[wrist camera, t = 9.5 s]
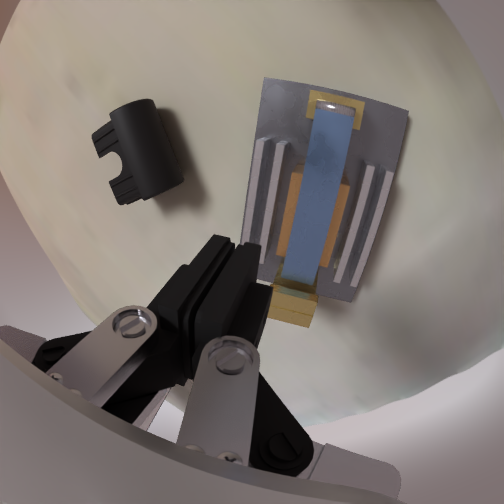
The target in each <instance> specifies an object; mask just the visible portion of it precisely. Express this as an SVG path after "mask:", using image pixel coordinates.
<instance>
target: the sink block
mask: <svg viewBox="0 0 504 504" xmlns="http://www.w3.org/2000/svg"><path fill="white" fill-rule="evenodd" d="M317 99H320V100H325V101H330V102H334V103H338V104H342V105H346V106H350V107H354V108H356V112H355V117H354V122H353V127H352V132H351V137H350V142H349V147H348V151H347V156H346V161H345V165H344V169H343V174H342V178H341V182H340V187H339V191H338V195H337V199H336V203H335V207H334V211H333V215H332V219H331V223H330V226H329V230H328V234H327V237H326V241H325V245H324V248H323V252H322V255H321V259H320V262H319V266H318V269H317V273H316V276H315V279H314V283H313V285H309V284H305V283H301V282H297V281H293V280H289V279H285V278H281V274H282V270H283V265H284V261H285V257H286V252H287V248H288V243H289V239H290V234H291V230H292V225H293V220H294V216H295V211H296V206H297V201H298V197H299V192H300V187H301V182H302V177H303V172H304V167H305V162H306V157H307V152H308V146H309V141H310V136H311V131H312V125H313V120H314V114H315V109H316V103H317ZM408 113H409V111H407V110H404V109H401V108H398V107H395V106H392V105H389V104H386V103H383V102H379V101H376V100H373V99H369V98H365V97H362V96H358V95H354V94H350V93H346V92H342V91H338V90H333V89H329V88H324V87H319V86H314V85H309V84H304V83H298V82H292V81H286V80H279V79H272V78H264V81H263V88H262V94H261V101H260V107H259V114H258V121H257V127H256V134H255V141H254V148H253V154H252V161H251V168H250V175H249V182H248V189H247V196H246V204H245V211H244V218H243V225H242V233H241V240H240V245H244V243H245V242H250V243H255V244H259V245H261V246H262V248H261V255H260V261H259V268H258V274H257V279H259V280H263V281H267V282H271V283H273V284H271V285H270V286H272V287H273V294H272V298H271V303H270V308H269V312H268V316H267V317H268V318H272V319H275V320H279V321H283V322H287V323H291V324H295V325H299V326H303V327H307V328H309V326H310V323H311V320H312V318H313V314H314V311H315V309H316V306H317V303H318V296H317V295H316V294H318V295H322V296H326V297H330V298H334V299H339V300H343V301H347V302H351V301H352V299H353V296H354V294H355V291H356V289H357V286H358V283H359V281H360V278H361V276H362V273H363V270H364V268H365V265H366V262H367V260H368V257H369V254H370V251H371V248H372V245H373V242H374V240H375V237H376V234H377V231H378V228H379V224H380V221H381V218H382V215H383V212H384V209H385V205H386V202H387V198H388V195H389V192H390V188H391V184H392V181H393V177H394V173H395V170H396V166H397V162H398V158H399V154H400V150H401V145H402V141H403V137H404V132H405V127H406V123H407V118H408Z"/></svg>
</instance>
